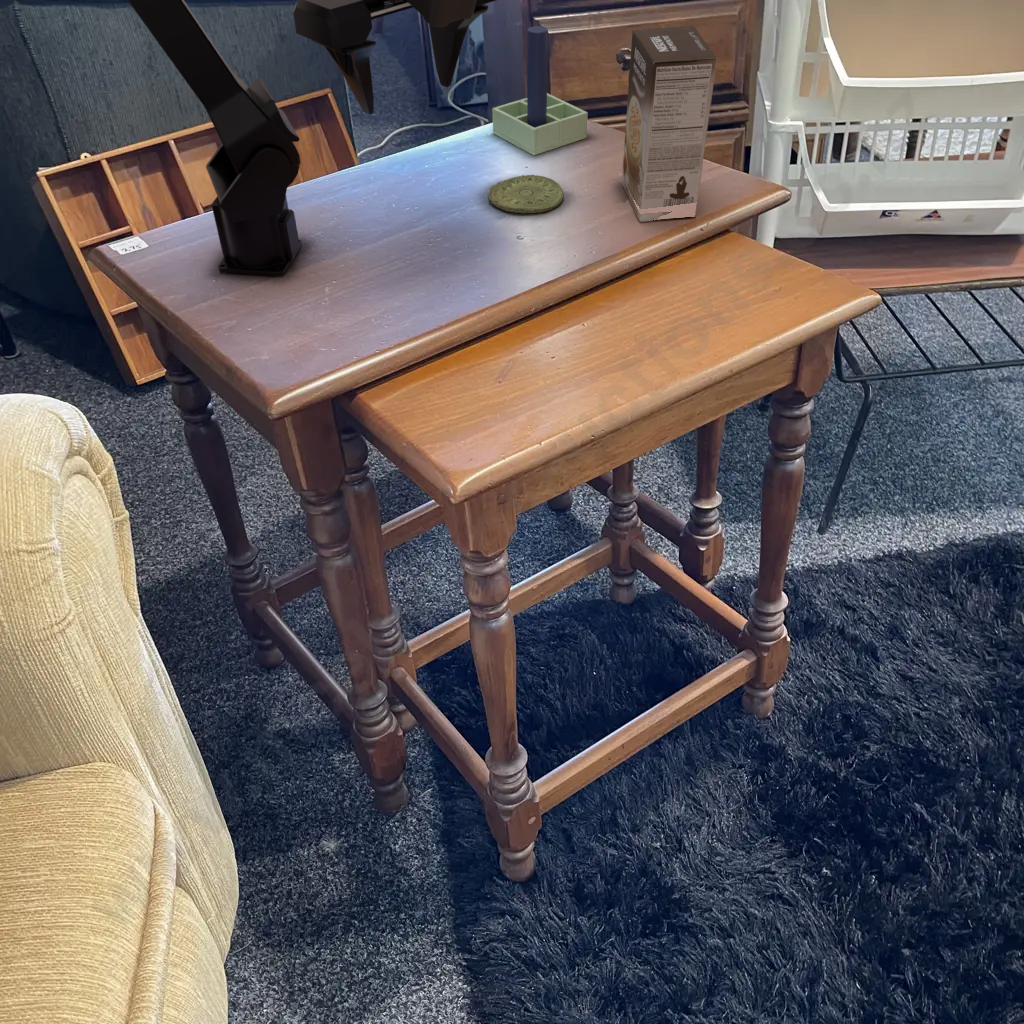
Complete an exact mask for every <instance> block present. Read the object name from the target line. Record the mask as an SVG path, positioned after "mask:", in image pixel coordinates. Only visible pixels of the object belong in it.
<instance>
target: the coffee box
mask: <svg viewBox="0 0 1024 1024" xmlns="http://www.w3.org/2000/svg"><path fill="white" fill-rule="evenodd" d="M631 32H632V33H631V35H632V36H631V47H630V59H629V60H630V61H629V73H628V76H629V77H628V86H627V87H628V88H627V103H626V104H627V105H626V114H625V115H626V117H625V130H624V144H623V159H622V175H621V184H622V187H623V189H624V192H625V194H626V196H627V198H628V201H629V203H630V204H631V207H632V209H633V211H634V213H635V216H636V218H637V220H638V221H639V223H645V222H656V221H655V219H656V220H657V219H658V218H659V217H660V216H663V215H667V214H669V213H671V212H672V211H671V212H658V213H644V214H640V213H639V211H638V209H637V207H636V205H635V203H634V201H633V199H632V197H633V198H634V200H635V202H636V204H637V205H638V206H639V208H640V209H648V208H657V207H666V206H673V205H680V204H687V203H688V204H690V203H696V202H698V203H699V195H700V188H701V181H702V180H701V179H702V174H703V173H702V171H703V164H704V158H705V157H704V156H705V149H706V144H707V143H706V142H707V135H708V129H709V120H710V114H711V106H712V99H713V91H714V84H715V76H716V70H717V63H718V62H717V61H718V57H717V56H716V55H715V53H714V51H713V50H712V49H711V48H710V47H709V45H708V44H707V42H706V41H705V39H704V38H703V37H702V35H701V34H700V33H699V31H698V29H697V27H696V26H694V25H684V26H683V25H682V26H671V27H670V26H669V27H653V28H641V29H634V30H632V31H631ZM628 189H629V190H628ZM629 191H630V193H631V195H632V197H631V195H630V193H629ZM653 220H654V221H653Z"/></svg>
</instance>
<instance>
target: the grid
mask: <svg viewBox="0 0 1024 1024" xmlns="http://www.w3.org/2000/svg"><path fill="white" fill-rule="evenodd" d="M491 111H492V134H494V135H495V136H496V137H499V138H500V139H502V140H505V141H506V142H507V143H510V144H512V145H514V146H515V147H516V148H517V147H518V148H519V149H521V150H523V151H525V152H527V153H528V154H530V155H532V156H536V155H540V154H542V153H545V152H549V151H551V150H554V149H557V148H561V147H563V146H567V145H569V144H573V143H576V142H578V141H581V140H584V139H587V138H588V117H589V115H588V114H589V113H588V111H585V110H583V109H581V108H580V107H577V106H575V105H573V104H571V103H568V102H566V101H565V100H562V99H560V98H558V97H556V96H554V95H552V94H549V92H547V124H545V125H541V126H538V127H535V128H534V127H532V126H530V125H528V124H527V97H525V98H522V99H518V100H515V101H512V102H508V103H505V104H502V105H498V106H496V107H495V106H494V107H492V110H491Z"/></svg>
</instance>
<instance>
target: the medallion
mask: <svg viewBox="0 0 1024 1024" xmlns="http://www.w3.org/2000/svg"><path fill="white" fill-rule="evenodd" d="M487 193H488V195H487V196H488V201H489V203H490V204H491V205H492V206H494V207H495V208H498V209H499V210H502V211H505V212H507V213H516V214H520V215H523V214H538V213H545V212H548V211H551V210H553V209H555V208H557V207H559V205H561V203H562V202H563V200H564V190H563V188H562V187H561V185H560V184H559V183H558V182H557V181H555V179H552V178H549V177H546V176H543V175H537V174H536V175H535V174H526V175H524V174H523V175H518V176H514V177H510V178H508V179H504V180H503V181H499V182H497V183H496V184H493V185H492V186H490V188H489V189H488V192H487Z"/></svg>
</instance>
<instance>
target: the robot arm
mask: <svg viewBox="0 0 1024 1024" xmlns="http://www.w3.org/2000/svg"><path fill="white" fill-rule="evenodd" d="M496 1H497V0H296V3H295V5H294V7H293V12H292V15H293V22H294V28H295V29H294V30H295V34H297V35H299V36H300V37H304V38H307V39H309V40H310V41H311V42H313V43H315V44H318V45H320V46H322V47H323V48H324V49H325V50H326V51H327V53H328V54H329V55H330V57H331V58H332V60H333V61H334V63H335V64H336V66H337V68H338V69H339V70H340V72H341V74H342V76H343V78H344V80H345V81H346V83H347V85H348V87H349V89H350V90H351V92H352V94H353V95H354V97H355V99H356V101H357V103H358V104H359V106H360V108H361V110H362V111H363V112H364V113H365V114H367V115H370V116H371V115H373V114H374V113H375V111H374V110H375V106H374V105H375V99H374V98H375V97H374V88H373V87H374V86H373V80H372V79H373V78H372V69H371V59H370V56H371V54H372V52H373V51H374V48H375V46H376V45H377V42H376V41H375V40H372V39H369V38H368V37H369V35H370V33H371V32H372V30H373V22H372V21H373V20H376V19H378V18H382V17H386V16H389V15H393V14H396V13H399V12H403V11H406V10H409V9H413V8H414V9H415V10H416V11H417V12H418V13H419V14H420V15H421V16H422V17H423V20H424V21H425V22H426V23H427V24H428V28H429V33H430V34H429V35H430V39H431V46H432V52H433V58H434V64H435V69H436V73H437V76H438V80H439V85H441V86H442V87H444V88H450V87H451V86H452V82H453V79H454V75H455V72H456V68H457V65H458V61H459V57H460V53H461V51H462V46H463V43H464V40H465V37H466V34H467V32H468V29H469V27H470V25H471V24H473V22H475V21H476V19H478V17H480V16H481V15H482V14H485V13H486V12H487V11H488V10H489V5H488V4H490V3H493V2H496ZM127 2H128V3H129V5H130V6H131V8H132V9H133V10H134V12H135V13H136V14H137V16H138V17H139V18H140V20H141V21H142V23H143V24H144V26H145V27H146V28H147V29H148V31H149V32H150V34H151V35H152V37H153V38H154V39H155V41H156V42H157V43H158V45H159V46H160V47H161V49H162V51H164V53H165V55H166V56H167V58H168V59H169V60H170V61H171V63H172V64H173V66H174V67H175V68H176V69H177V71H178V72H179V74H180V75H181V77H182V78H183V79H184V81H185V83H186V84H187V85H188V86H189V88H190V89H191V91H192V92H193V93H194V94H195V96H196V97H197V99H198V100H199V101H200V103H201V105H202V106H203V107H204V109H205V111H206V112H207V115H208V117H209V119H210V121H211V123H212V125H213V127H214V129H215V132H216V133H217V135H218V138H219V140H220V142H221V144H220V145H219V146H218V148H217V149H216V150H215V152H214V153H213V155H212V156H211V158H210V159H209V160H208V162H207V163H206V165H205V168H206V172H207V174H208V176H209V179H210V181H211V184H212V186H213V188H214V191H215V194H216V198H215V199H213V201H212V203H211V204H210V206H211V210H212V213H213V218H214V223H215V226H216V231H217V235H218V240H219V244H220V248H221V252H222V256H223V258H222V259H221V261H220V262H219V263H218V265H217V269H218V272H220V273H227V274H241V275H242V274H243V275H244V274H245V275H254V276H255V275H257V276H258V275H259V276H271V277H280V276H284V274H285V273H286V272H287V270H288V268H289V266H290V265H291V263H292V262H293V261H294V259H295V258H296V256H297V254H298V253H299V251H300V249H301V246H302V240H301V239H300V238H299V232H298V227H297V226H298V225H297V220H296V215H295V211H294V210H293V209H292V208H289V205H288V200H287V191H288V188H289V186H291V184H293V183H294V181H295V180H296V178H297V176H298V175H299V170H300V165H301V163H302V162H301V156H300V153H299V151H298V148H297V147H296V145H295V143H296V142H297V143H298V142H299V141H300V137H299V135H298V134H297V132H296V130H295V128H294V127H293V125H292V123H291V121H290V119H289V118H288V116H287V115H286V112H285V111H283V110H282V109H281V108H280V107H278V106H277V104H276V102H275V100H274V99H273V98H274V97H272V94H271V92H270V91H269V89H268V88H267V85H266V84H265V82H264V81H263V79H262V78H261V77H258V78H257V79H255V80H254V81H253V83H251V84H250V85H248V84H247V83H246V82H245V81H244V80H242V79H241V78H240V77H239V76H238V75H237V74H236V73H235V72H234V71H233V70H232V69H231V67H230V66H229V64H228V63H227V62H226V60H225V58H224V57H223V55H222V54H221V53H220V51H219V50H218V48H217V47H216V45H215V43H214V42H213V41H212V39H211V38H210V36H209V35H208V33H207V32H206V31H205V29H204V28H203V26H202V25H201V23H200V22H199V20H198V18H197V17H196V15H195V14H194V13H193V11H192V10H191V9H190V7H189V6H188V4H187V2H186V1H185V0H127Z"/></svg>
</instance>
